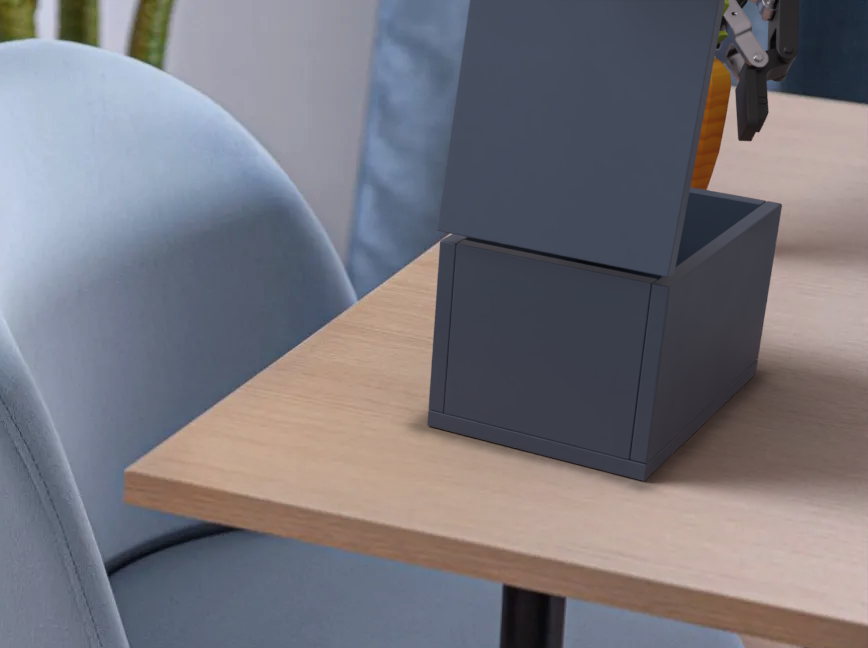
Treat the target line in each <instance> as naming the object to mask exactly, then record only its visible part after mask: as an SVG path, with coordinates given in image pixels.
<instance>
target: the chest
mask: <svg viewBox="0 0 868 648" xmlns="http://www.w3.org/2000/svg"><path fill="white" fill-rule="evenodd" d="M782 209H783V204H782V203H781V202H776V201H770V200H769V201H768V200H765V199H759V198H754V197H749V196H742V195H738V194H737V195H736V194H732V193H726V192H719V191H714V190H709V189H707V190H704V189H698V188H692V187H690V192H689V197H688V203H687V208H686V213H685V219H684V224H683V230H682V235H681V240H680V246H679V251H678V256H677V262H676V267H675V273H674V276H670V277H663V276H659V275H654V274H649V273H644V272H639V271H634V270H629V269H624V268H619V267H614V266H609V265H604V264H599V263H594V262H589V261H584V260H579V259H574V258H569V257H564V256H560V255H555V254H550V253H545V252H540V251H535V250H530V249H525V248H520V247H515V246H510V245H505V244H500V243H495V242H490V241H485V240H480V239H475V238H470V237H466V236H461V235H456V234H450V235H448V236H446V237H444V238H442V239H441V240H440V241H439V249H438V250H439V252H438V264H437V265H438V267H437V281H436V295H435V309H434V323H433V338H432V351H431V366H430V379H429V380H430V382H429V396H428V410H427V423H426V425H427V426H428V427H431V428H435V429H439V430H443V431H447V432H451V433H455V434H458V435H462V436H467V437H470V438H473V439H477V440H482V441H485V442H490V443H494V444H497V445H501V446H506V447H509V448H512V449H517V450H521V451H525V452H529V453H533V454H537V455H540V456H544V457H549V458H553V459H556V460H560V461H564V462H568V463H571V464H576V465H580V466H583V467H587V468H590V469H591V468H592V469H595V470H599V471H602V472H603V471H604V472H607V473H611V474H614V475H619V476H623V477H626V478H630V479H635V480H638V481H642V482H645V481H646V480H647V479H648V478H650V477H651V475H653V474H654V472H656V471H657V470H658V468H660V467H661V466H662V465H663V464H665V462H666V461H667V460H668V459H669V458H670V457H671V456H672V455H673V454H674V453H675V452H676V451H677V450H679V449H680V448H681V447H682V446H683V445H684V443H686V442H687V441H688V440H689V439H690V438H691V437H692V436H693V435H694V434H695V433H696V432H697V431H698V430H699V429H700V428H702V426H704V425H705V424H706V423H707V422H708V421H709V420H710V419H711V418H712V417H713V416H714V415H715V414H716V413H717V412H718V411H719V410H720V409H721V408H722V407H723V406H724V405H725V404H727V402H728V401H729V400H730V399H732V397H733V396H735V394H737V393H738V392H739V391H740V390H741V389H742V388H743V387H744V386H745V385H746V384H747V383H748V382H749V381H750V380H752V378H753V377H754V376H756V374H757V369H758V363H759V361H758V359H759V356H760V350H761V349H760V348H761V344H762V343H761V341H762V336H763V329H764V324H765V317H766V310H767V304H768V297H769V290H770V285H771V278H772V273H773V265H774V260H775V253H776V248H777V247H776V246H777V241H778V233H779V228H780V222H781V215H782Z"/></svg>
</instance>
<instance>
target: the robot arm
mask: <svg viewBox="0 0 868 648" xmlns="http://www.w3.org/2000/svg"><path fill="white" fill-rule="evenodd" d="M748 2H751V3H754V4H755V5H756V7H757V9H758V13H759V15H760V16H761V17H760V19H761V20H762V21H763V22H768V23H767V27H768V28H767V50H765V49H764V47H763V46H762V45H761V43H760V41H759V40H758V38H757V37H756V35H755V34H754V32H753V26H752V21H751V19H749V18H748V16H747V14H746V13H745V11H744V10H743V8H744V7H745V6H746V5H747V3H748ZM729 4H730V6H729V7H728V9H727V10H726V12H725V13H724V15H723V16H722V20H721V25H720V31H726V32H727V34H728V36H727V37H726V38H725V39H723V40H722V41H721V42H720V43H718V44H717V47H716V52H715V57H714V58H717V59H718V60H720V61H721V62H722V63H723V64H724V65H725V67H726V68H727V69H728V71H729V72H730V74H731V75H732V76H733V77H734V79H735V80H736V82H737V85H736V87H735V89H734V93H735V109H736V126H737V140H738V141H739V142H752V141H753V139H754V137H755V135H756V133H760V132H761V130H762V128H763V127H764V124H765V122H766V120H767V118H768V115H769V113H770V111H769V99H768V97H769V95H768V83H767V82H768V81H772V82H777V83H778V82H779V83H780V82H783V81H784V80H785V79H786V78H787V75H789V72H790V68H791V66H792V64H793V62H794V61H795V60H796V59H797V56H798V54H799V33H800V32H799V30H800V0H729Z"/></svg>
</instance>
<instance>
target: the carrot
mask: <svg viewBox="0 0 868 648" xmlns="http://www.w3.org/2000/svg"><path fill="white" fill-rule="evenodd" d="M729 6H730V4H729V0H725V4H724V9H723V14H722V16H723V15H724V13H725V12H726V10H727V9H728V7H729ZM727 36H728V34H727V32H726V30H725V31H719V36H718V41H717V44H718V43H720V42H721V41H722V40H723V39H725V38H726V37H727ZM731 75H732V74H731V71H730V70H729V69H728V67H727V66H726V65H725V64H724V63H722V62H721V61H720V60H718V59H717V58H716V57H714V63H713V68H712V74H711V79H710V84H709V90H708V95H707V100H706V106H705V111H704V117H703V122H702V127H701V133H700V138H699V143H698V149H697V154H696V160H695V165H694V170H693V176H692V181H691V186H690V187H692V188H698V189H704V190H708V188H709V184H710V182H711V179H712V176H713V173H714V170H715V166H716V164H717V161H718V158H719V154H720V150H721V145H722V140H723V136H724V135H723V134H724V128H725V126H726V125H725V124H726V120H727V114H728V109H729V108H728V107H729V102H730V97H731V90H732V76H731Z"/></svg>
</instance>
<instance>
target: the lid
mask: <svg viewBox="0 0 868 648" xmlns="http://www.w3.org/2000/svg"><path fill="white" fill-rule="evenodd" d="M724 4H725V0H469V4H468V11H467V17H466V26H465V31H464V32H465V33H464V37H463V38H464V39H463V45H462V53H461V59H460V68H459V74H458V79H457V86H456V93H455V100H454V101H455V102H454V108H453V115H452V122H451V129H450V136H449V142H448V143H449V144H448V150H447V156H446V165H445V171H444V177H443V185H442V191H441V199H440V205H439V211H438V212H439V213H438V220H437V227H436V231H437V232H441V233H445V234H446V233H447V234H450V235H452V234H456V235H461V236H466V237H470V238H475V239H480V240H485V241H490V242H495V243H500V244H505V245H510V246H515V247H520V248H525V249H530V250H535V251H540V252H545V253H550V254H555V255H560V256H564V257H569V258H574V259H579V260H584V261H589V262H594V263H599V264H604V265H609V266H614V267H619V268H624V269H629V270H634V271H639V272H644V273H649V274H654V275H659V276H663V277H670V276H674V273H675V267H676V262H677V256H678V251H679V246H680V240H681V235H682V230H683V224H684V219H685V213H686V208H687V203H688V197H689V192H690V186H691V181H692V176H693V170H694V165H695V160H696V154H697V149H698V143H699V138H700V133H701V127H702V122H703V117H704V111H705V106H706V100H707V95H708V90H709V84H710V79H711V74H712V68H713V63H714V58H716V57H715V52H716V47H717V41H718V36H719V31H720V25H721V20H722V14H723V9H724Z"/></svg>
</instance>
